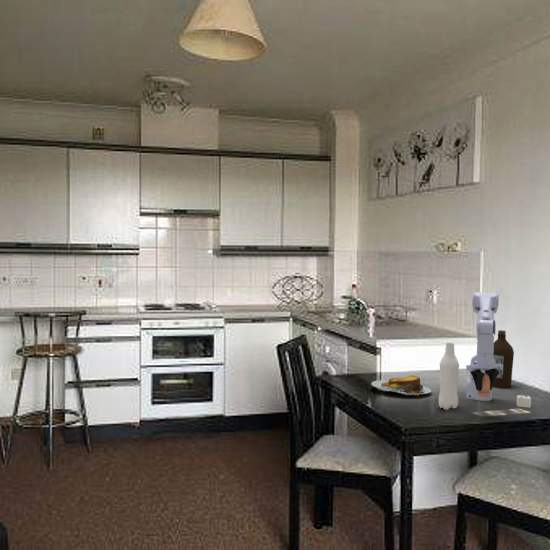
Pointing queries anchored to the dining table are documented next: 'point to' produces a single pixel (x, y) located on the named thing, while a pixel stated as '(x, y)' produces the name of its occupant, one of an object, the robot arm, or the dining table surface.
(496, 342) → the olive oil
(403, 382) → the food on plate
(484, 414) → the board
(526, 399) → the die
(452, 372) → the water bottle
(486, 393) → the pawn
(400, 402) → the dining table surface
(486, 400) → the robot arm
